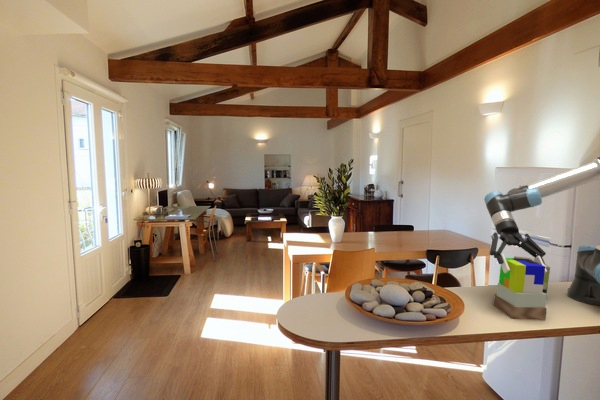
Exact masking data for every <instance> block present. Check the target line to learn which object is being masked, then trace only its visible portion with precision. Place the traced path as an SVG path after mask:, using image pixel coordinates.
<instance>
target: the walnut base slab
mask: <svg viewBox="0 0 600 400" xmlns="http://www.w3.org/2000/svg"><path fill="white" fill-rule="evenodd" d="M493 306H494V307H495V308H496V309H498V310H499V311H501V312H502V313H504V314H505V315H506V316H507V317H509V318H510V319H512V320H513V319H514V320H534V321H546V319H547V318H546V317H547V307H545V308H534V307H515V306H513V305H511V304H510V303H508V302H506V301H505V300H503V299H502V298H500V297H498V296H497V293H495V294H494V297H493Z"/></svg>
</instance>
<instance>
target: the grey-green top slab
mask: <svg viewBox="0 0 600 400" xmlns="http://www.w3.org/2000/svg"><path fill="white" fill-rule="evenodd" d="M496 294H497V296H498V297H500V298H502V299H503V300H505V301H506V302H508V303H510V304H511V305H513V306H515V307H534V308H546V305H547V303H546V302H547V294H548V293H547V294H545V293H543V292H542V294H538V293H520V292H513V291H511V290H510V289H508V288H506V287H505V286H503V285H502V284H500V283H499V282H498V283H497V287H496Z"/></svg>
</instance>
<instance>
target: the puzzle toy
mask: <svg viewBox="0 0 600 400" xmlns="http://www.w3.org/2000/svg"><path fill="white" fill-rule="evenodd" d="M505 259H506V261H507V264H508V266H509V269H510V270H509V271H508V272H507V273H504V271H503V269H502V266H501V265H500V268H499V277H498V278H499V279H498V283H500V284H502V285H503V286H505V287H506V288H508V289H510V290H511V291H513V292H520V293H538V294H542V291H543V283H544V274H545V266H543V265H540V264H538V263H536V262H534V261H531V260H529V259H518V258H514V257H505Z"/></svg>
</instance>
